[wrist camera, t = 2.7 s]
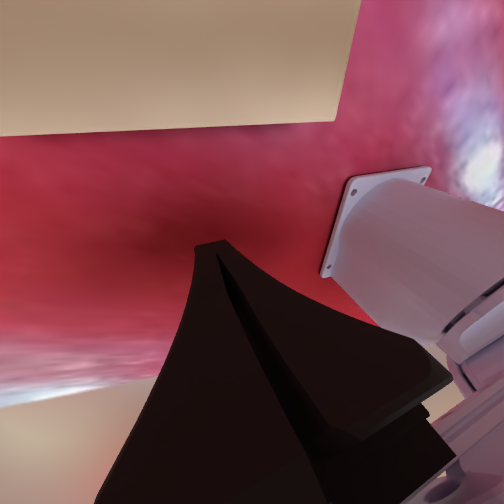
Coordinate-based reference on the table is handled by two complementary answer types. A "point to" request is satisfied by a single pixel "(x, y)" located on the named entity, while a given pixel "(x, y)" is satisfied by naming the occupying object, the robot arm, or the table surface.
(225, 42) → the T block
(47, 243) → the table surface
